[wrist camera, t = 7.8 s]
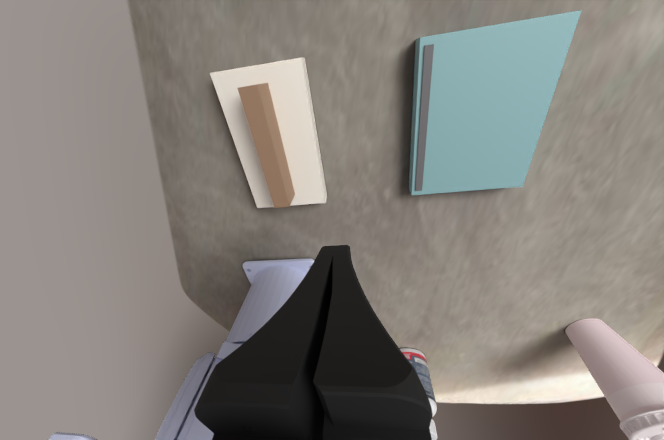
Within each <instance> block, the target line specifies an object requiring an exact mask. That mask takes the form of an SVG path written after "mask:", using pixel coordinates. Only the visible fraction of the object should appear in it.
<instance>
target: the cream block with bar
mask: <svg viewBox="0 0 664 440" xmlns="http://www.w3.org/2000/svg"><path fill="white" fill-rule="evenodd" d="M210 75H211V78H212V81H213V84H214V86H215V89H216V92H217V95H218V98H219V101H220V103H221V106H222V109H223V112H224V115H225V118H226V120H227V123H228V126H229V129H230V132H231V135H232V137H233V140H234V143H235V146H236V149H237V152H238V154H239V157H240V160H241V163H242V166H243V169H244V171H245V174H246V177H247V180H248V183H249V186H250V188H251V191H252V194H253V197H254V200H255V203H256V205H257V208H266V207H274V208H279V207H290V206H291V205H304V204H316V203H326V199H327V192H326V186H325V180H324V174H323V168H322V162H321V155H320V149H319V143H318V137H317V131H316V125H315V118H314V112H313V106H312V100H311V94H310V88H309V81H308V75H307V69H306V63H305V58H296V59H290V60H284V61H278V62H272V63H266V64H261V65H255V66H249V67H243V68H237V69H231V70H225V71H219V72H213V73H210Z"/></svg>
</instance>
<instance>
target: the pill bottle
mask: <svg viewBox="0 0 664 440" xmlns="http://www.w3.org/2000/svg"><path fill="white" fill-rule="evenodd" d="M400 350H401V352H402V353H403V354H404V355H405V357H406V358H407V359H408V360H409V362H410V363H411V364H412V365H413V367H414V369H415V371H416V373H417V375H418V377H419V379H420V381H421V383H422V385H423V387H424V389H425V391H426V394H427V396H428V399H429V402H430V405H431V408H432V417H433V416H434V415H435V413H436V410H437V407H436V401H435V397H434V393H433V388H432V384H431V380H430V375H429V371H428V367H427V362H426V359H425V356H424V354H423V353H422V352H420V351H418V350H416V349H412V348H401V349H400ZM429 429H430V434H431V438H432V440H436V439H437V432H436V428H435V423H434V421H433V420H432V419H431V423H430V427H429Z"/></svg>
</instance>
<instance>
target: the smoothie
mask: <svg viewBox="0 0 664 440" xmlns="http://www.w3.org/2000/svg"><path fill="white" fill-rule="evenodd" d="M565 332H566V334H567V336H568V337H569V339H570V341H571V342H572V344H573V345H574V347H575V349H576V350H577V352H578V354H579V355H580V357H581V358H582V360H583V362H584V363H585V365H586V367H587V368H588V370H589V371H590V373H591V375H592V376H593V378H594V379H595V381H596V383H597V384H598V386H599V388H600V389H601V391H602V392H603V394H604V396H605V397H606V399H607V401H608V402H609V404H610V406H611V407H612V409H613V410H614V412H615V413H616V415H617V416H618V418H619V420H620V421H621V423H620V428H621V429H622V431H623V432H624V433H625V434H626V435H627V437H628V438H629V440H664V373H663V372H662V371H660V369H658V368H657V367H656V366H655V365H654V364H653V363H651V362H650V361H649V360H648V359H647V358H645V357H644V356H643V355H642V354H641V353H639V352H638V351H637V350H636V349H635V348H634V347H632V346H631V345H630V344H629V343H628V342H626V341H625V340H624V339H623V338H622V337H620V336H619V335H618V334H617V333H616V332H615V331H613V330H612V329H611V328H610V327H609V326H607V325H606V324H605V323H604V322H603V321H601V320H599V319H594V318H589V319H582V320H579V321H576V322H574V323H572V324H570V325H569V326H568V327H567V328H566V330H565Z"/></svg>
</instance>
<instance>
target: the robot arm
mask: <svg viewBox="0 0 664 440" xmlns="http://www.w3.org/2000/svg"><path fill="white" fill-rule="evenodd" d="M242 266H243V269H244V271H245V273H246V275H247V277H248V280H249V282H250V284H251V287H250V289H249V291H248V294H247V296H246V298H245V300H244V302H243V304H242V306H241V309H240V311H239V313H238V315H237V317H236V319H235V321H234V324H233V326H232V328H231V330H230V332H229V334H228V336H227V339H226V341H225V342H223V344H222V346H221V348H220V350H219V352H218V355H217V357H216V359H215V358H214V357H215V353H211V352H208V353H207V354H206V355H204V356H202V357H200V358H199V359H197V360H196V362H195V363H194V365H193V366H192V368H191V370H190V372H189V373H188V375H187V377H186V379H185V381H184V382H183V384H182V386H181V388H180V390H179V391H178V393H177V395H176V397H175V399H174V401H173V403H172V405H171V407H170V409H169V411H168V413H167V415H166V417H165V419H164V421H163V423H162V425H161V427H160V429H159V431H158V434H157V436H156V438H155V440H432V438H431V434H430V429H429V427H430V423H431V419H432V408H431V405H430V402H429V399H428V396H427V394H426V391H425V389H424V387H423V385H422V383H421V381H420V379H419V377H418V375H417V373H416V371H415V369H414V367H413V365H412V364H411V363H410V362H409V360H408V359H407V358H406V357H405V355H404V354H403V353H402V352H401V350H400V349H399V348H398V346H397V345H396V344H395V342H394V341H393V340H392V338H391V337H390V335H389V334H388V333H387V331H386V329H385V328H384V326H383V325H382V323H381V322H380V320H379V319H378V317H377V316H376V314H375V312H374V311H373V309H372V307H371V305H370V304H369V302H368V300H367V298H366V296H365V294H364V292H363V290H362V288H361V286H360V283H359V281H358V279H357V276H356V273H355V270H354V268H353V265H352V261H351V253H350V247H349V246H348V245H339V246H323V247H322V248H321V250H320V252H319V254H318V256H317V257H316V259H315V261H314V260H313V259H288V260H266V261H246V262H244V263H243V265H242ZM310 266H311V267H310ZM48 440H97V439H95V438H93V437H90V436H87V435H84V434H75V433H60V432H56V433H54V434H52V436H51V437H50V438H49V439H48Z"/></svg>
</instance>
